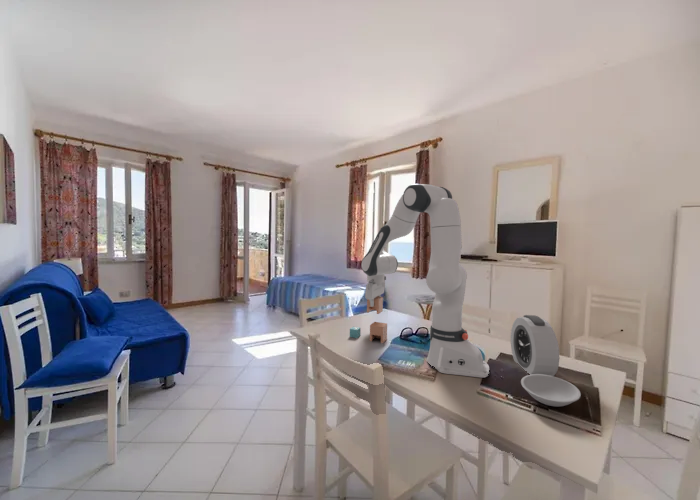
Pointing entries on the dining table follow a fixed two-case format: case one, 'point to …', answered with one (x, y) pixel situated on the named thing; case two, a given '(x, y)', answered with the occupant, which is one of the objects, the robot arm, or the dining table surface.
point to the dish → (550, 389)
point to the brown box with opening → (378, 331)
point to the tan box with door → (376, 305)
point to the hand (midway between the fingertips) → (374, 304)
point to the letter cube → (355, 332)
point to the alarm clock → (535, 345)
